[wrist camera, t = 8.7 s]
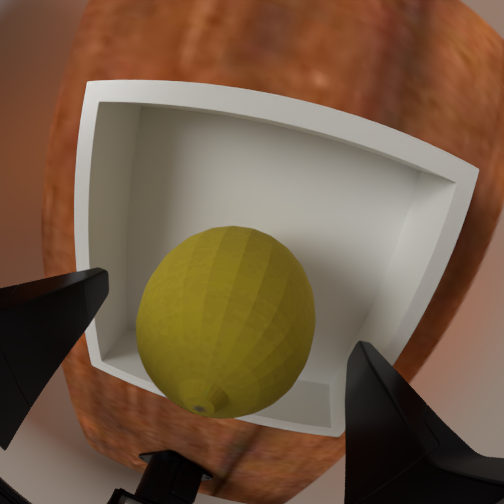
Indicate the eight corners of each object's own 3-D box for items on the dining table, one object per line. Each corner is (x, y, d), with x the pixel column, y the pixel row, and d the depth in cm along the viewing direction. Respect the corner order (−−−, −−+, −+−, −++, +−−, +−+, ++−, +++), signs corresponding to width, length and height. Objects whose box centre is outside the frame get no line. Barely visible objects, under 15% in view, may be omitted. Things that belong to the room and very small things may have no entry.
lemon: (171, 287, 14) (86, 408, 6) (213, 183, 12) (103, 247, 4) (272, 334, 14) (257, 478, 7) (329, 240, 12) (383, 373, 5)
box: (335, 385, 16) (338, 437, 12) (123, 326, 17) (91, 365, 13) (432, 158, 11) (479, 169, 7) (139, 91, 11) (87, 81, 8)
